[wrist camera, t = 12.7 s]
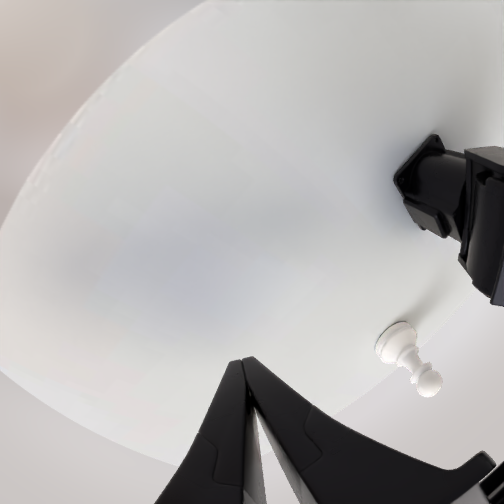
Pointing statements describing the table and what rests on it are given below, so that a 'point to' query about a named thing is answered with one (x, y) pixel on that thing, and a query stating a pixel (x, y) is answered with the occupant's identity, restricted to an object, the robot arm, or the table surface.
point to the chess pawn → (408, 357)
